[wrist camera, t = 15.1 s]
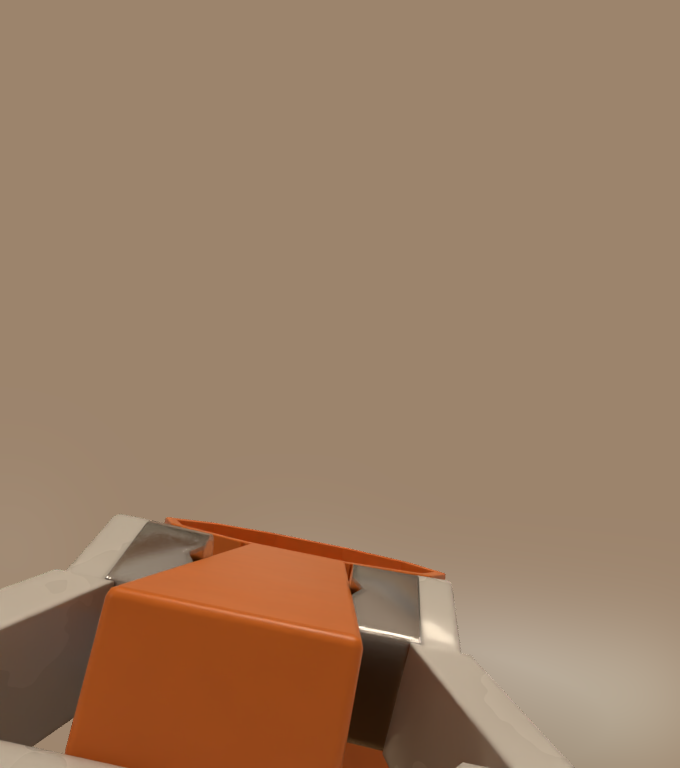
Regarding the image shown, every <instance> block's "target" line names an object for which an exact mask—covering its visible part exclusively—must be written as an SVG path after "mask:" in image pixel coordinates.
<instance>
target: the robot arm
mask: <svg viewBox="0 0 680 768" xmlns="http://www.w3.org/2000/svg"><path fill="white" fill-rule="evenodd" d="M213 547H214V537H213V534H209V533H205V532H201V531H196V530H192V529H187V528H183V527H179V526H174V525H170V524H165V523H160V522H156V521H150V520H148V519H144V518H138V517H133V516H128V515H123V514H119V515H115V516H114V517H113V518H112V519H111V520H110V521H109V522H108V523H107V525H106V526H105V527H104V528H103V529H102V530H101V532H100V533H99V534H98V535H97V536H96V537H95V538H94V539H93V541H92V542H91V543H90V544H89V545H88V546H87V547H86V549H85V550H84V551H83V552H82V553H81V554H80V555H79V557H78V558H77V559H76V560H75V561H74V562H73V563H72V565H71V566H70V567H69V568H68V569H67V570H66V571H64V570H59V569H55V570H52V571H49V572H46V573H44V574H41V575H38V576H36V577H33V578H30V579H27V580H24V581H21V582H19V583H16V584H13V585H10V586H8V587H5V588H2V589H0V768H126V767H122V766H117V765H113V764H108V763H104V762H99V761H94V760H90V759H85V758H81V757H76V756H71V755H67V754H62V753H58V752H53V751H48V750H44V749H39V748H35V747H32V746H34V745H35V744H37V743H38V742H39V741H41V740H42V739H44V738H45V737H47V736H48V735H50V734H51V733H52V732H54V731H55V730H57V729H58V728H60V727H61V726H62V725H64V724H65V723H67V722H68V721H70V720H71V719H72V718H74V715H75V711H76V707H77V703H78V699H79V695H80V692H81V688H82V684H83V680H84V676H85V672H86V669H87V665H88V661H89V657H90V653H91V649H92V646H93V642H94V638H95V634H96V630H97V626H98V623H99V619H100V615H101V611H102V607H103V603H104V600H105V596H106V594H107V593H108V591H109V590H110V588H111V587H115V586H118V585H121V584H124V583H127V582H131V581H134V580H137V579H140V578H143V577H146V576H150V575H153V574H156V573H159V572H162V571H166V570H169V569H172V568H175V567H178V566H182V565H185V564H188V563H191V562H194V561H198V560H201V559H204V558H207V557H210V556H213ZM349 588H350V590H351V595H352V599H353V604H354V608H355V613H356V617H357V622H358V626H359V631H360V635H361V640H362V645H363V653H362V659H361V665H360V670H359V676H358V681H357V687H356V693H355V698H354V704H353V710H352V715H351V721H350V727H349V732H348V738H347V743H352V744H356V745H360V746H364V747H368V748H372V749H376V750H380V751H383V753H382V754H383V756H384V758H385V760H386V762H387V764H388V766H389V768H574V767H573V766H572V765H571V764H570V762H569V761H568V760H567V759H566V758H565V757H564V756H563V755H562V754H561V753H560V752H559V750H558V749H557V748H556V747H555V746H554V745H553V744H552V743H551V742H550V741H549V740H548V739H547V737H546V736H544V734H543V733H542V732H541V731H540V730H539V729H538V728H537V727H536V726H535V724H534V723H533V722H532V721H531V720H530V719H529V718H528V717H527V716H526V715H525V714H524V712H523V711H522V710H521V709H520V708H519V707H518V706H517V705H516V704H515V703H514V702H513V701H512V699H511V698H510V697H509V696H508V695H507V694H506V693H505V692H504V691H503V690H502V689H501V688H500V687H499V685H498V684H497V683H496V682H495V681H494V680H493V679H492V678H491V677H490V676H489V675H488V673H486V671H485V670H484V669H483V668H482V667H481V666H480V665H479V664H478V663H477V662H476V661H475V659H474V658H473V657H472V656H470V655H466V654H462V653H461V648H460V640H459V634H458V625H457V619H456V612H455V604H454V596H453V588H452V584H451V583H450V581H448V580H442V579H436V578H430V577H424V576H418V575H417V576H416V575H411V574H405V573H400V572H394V571H389V570H383V569H378V568H372V567H367V566H361V565H355V564H353V567H352V571H351V575H350V580H349Z"/></svg>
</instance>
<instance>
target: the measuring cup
mask: <svg viewBox="0 0 680 768" xmlns="http://www.w3.org/2000/svg"><path fill="white" fill-rule="evenodd" d="M165 524H170V525H174V526H179V527H183V528H187V529H192V530H196V531H201V532H205V533H209V534H213V537H214V547H213V556H210V557H207V558H204V559H201V560H198V561H194V562H191V563H188V564H185V565H182V566H178V567H175V568H172V569H169V570H166V571H162V572H159V573H156V574H153V575H150V576H146V577H143V578H140V579H137V580H134V581H131V582H127V583H124V584H121V585H118V586H115V587H111V588H110V590H109V591H108V593H107V594H106V596H105V600H104V603H103V607H102V611H101V615H100V619H99V623H98V626H97V630H96V634H95V638H94V642H93V646H92V649H91V653H90V657H89V661H88V665H87V669H86V672H85V676H84V680H83V684H82V688H81V692H80V695H79V699H78V703H77V707H76V711H75V715H74V719H73V722H72V726H71V730H70V734H69V738H68V742H67V745H66V749H65V754H67V755H71V756H76V757H81V758H85V759H90V760H94V761H99V762H104V763H108V764H113V765H117V766H122V767H126V768H389V766H388V764H387V762H386V760H385V758H384V756H383V754H382V753H383V751H380V750H376V749H372V748H368V747H364V746H360V745H356V744H352V743H347V738H348V732H349V727H350V721H351V715H352V710H353V704H354V698H355V693H356V687H357V681H358V676H359V670H360V665H361V659H362V653H363V645H362V640H361V635H360V631H359V626H358V622H357V617H356V613H355V608H354V604H353V599H352V595H351V590H350V588H349V580H350V575H351V571H352V567H353V564H355V565H361V566H367V567H372V568H378V569H383V570H389V571H394V572H400V573H405V574H411V575H416V576H417V575H418V576H424V577H430V578H436V579H442V580H445V574H444V573H441V572H438V571H435V570H432V569H428V568H425V567H422V566H419V565H416V564H412V563H409V562H405V561H401V560H396V559H392V558H388V557H384V556H379V555H375V554H371V553H366V552H362V551H358V550H354V549H349V548H344V547H340V546H335V545H330V544H325V543H320V542H315V541H310V540H305V539H300V538H295V537H291V536H286V535H281V534H275V533H270V532H264V531H258V530H253V529H247V528H241V527H235V526H229V525H223V524H218V523H212V522H204V521H195V520H187V519H178V518H166V519H165Z"/></svg>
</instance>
